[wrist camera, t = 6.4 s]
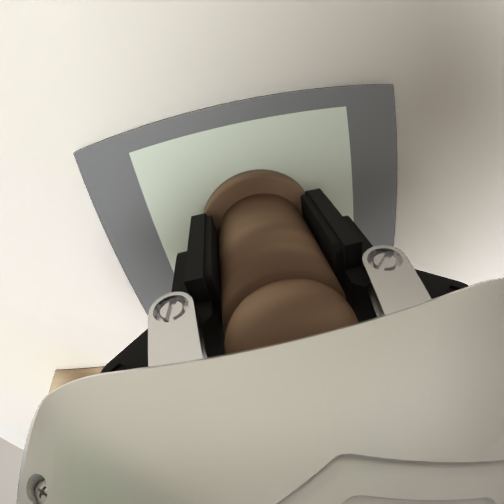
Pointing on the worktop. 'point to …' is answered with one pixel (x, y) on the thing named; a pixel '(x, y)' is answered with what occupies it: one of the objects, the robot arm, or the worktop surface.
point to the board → (241, 169)
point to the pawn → (271, 264)
